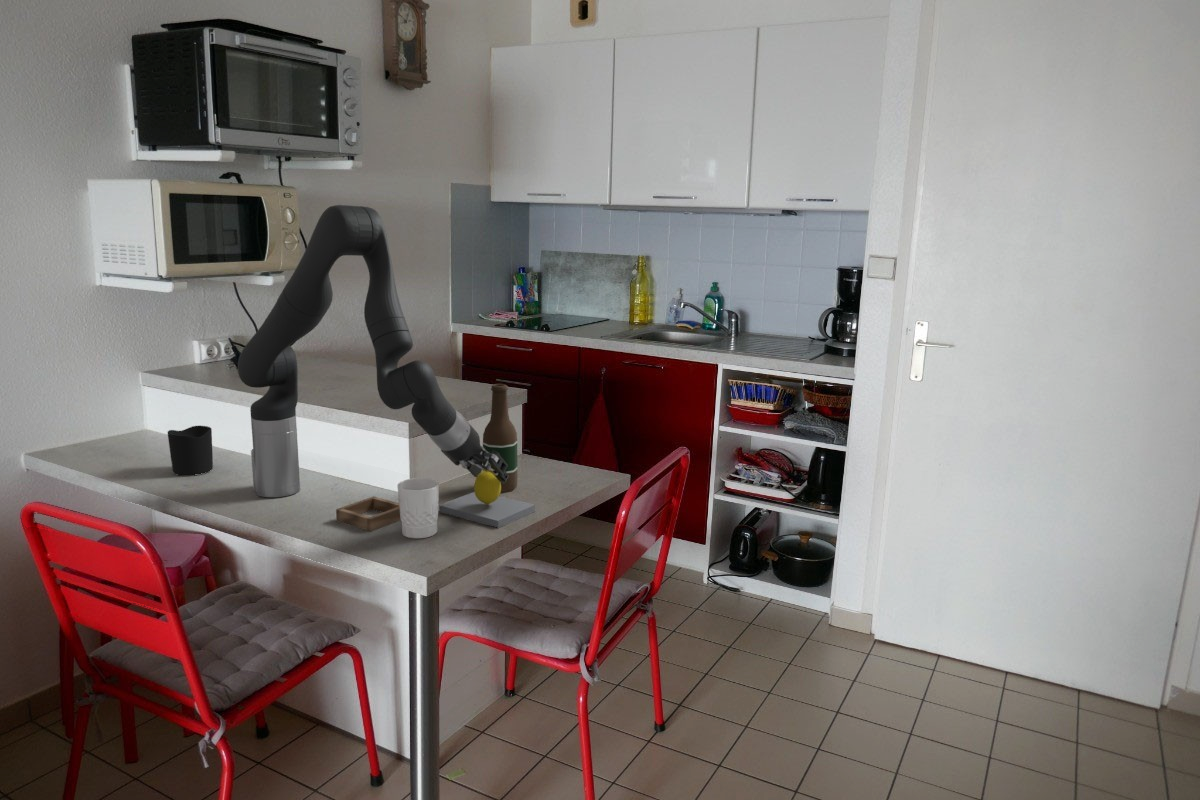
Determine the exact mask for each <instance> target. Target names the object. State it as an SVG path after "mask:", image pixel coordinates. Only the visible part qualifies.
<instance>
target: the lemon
mask: <svg viewBox="0 0 1200 800" xmlns="http://www.w3.org/2000/svg"><path fill="white" fill-rule="evenodd" d="M473 492H475V495H476V497H477V499H478V500H479V501H481V502H483V503H484V504H485V505H489V504H490V503H492V502H494V501H495V500H497V498H498V497H499V496H500V495H501V493H500V492H501V482H500V481H499V480H498V479H497V478H496V477H495V476H494V475H493V474H492V473H491V472H489V471H488V470H487V471H483V470H482V471H481V473H479V475H478V476H477V477H475V482H474V486H473Z"/></svg>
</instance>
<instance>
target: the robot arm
mask: <svg viewBox="0 0 1200 800" xmlns="http://www.w3.org/2000/svg"><path fill="white" fill-rule="evenodd" d="M342 256H343V257H344V256H354V257H355V256H358V257H360V256H362V258H363V259H364V261H365V264H366V267H367V269H368V274H369V280H368V281H369V283H368V284H369V285H368V289H367V293H366V297H365V302H364V307H363V309H364V312H363V314H364V321H365V326H366V328H367V331H368V334H369V338H370V341H371V343H372V346H373V349H374V355H375V366H376V387H377V392H378V395H379V398H380V399H381V402H383V405H386V407H388V408H389V409H391V410H400V409H403V408H405V407H408V406H410V405H412V404H413V405H412V407H411V416H412V418H413V420H414V421H415V422H416V423H417V425H419V427H420V428H422V429H423V431H424V432H425V433H426V434H427V435H428V437H429V438H430V440H432V442H433V443H434V444H435V445H436V446H437V447H438V449H440V452H441V453H442V454H443V455H444V456H446V457H447V458H448V459H449V460H450V461H451V462H452V463H453V464H454V465H455V466H457V467H458V466H460V465H461V467H462V468H463V469H467V471H468V472H469V473H470V474H471V475H472V476H473V477H475V478H476V477H477V476H478V475H479V473H481V472H482V471H487V470H488V471H489V472H491V473H492V474H493V475H494V476H495V477H496V478H497V479H498V480H499V481H500V482H501V483H505V482H506V480H507V479H508V477H509V475H508V474H507V472H506V471H505V470H506V468H507V466H508V464H507V463H506V462H505V461H504V459H503V458H502V457H501V455H500V454H499V453H498V452H497V451H495V450H493V452H492V454H491V453H489V452H487V451H486V450H485V449H484V447H483V445H481V441H480V435H479V433H478V432H477V430H476V429H474V427H473V426H472V425H471V424H470V423H469V421H467V419H466V417H464V415H462V414H461V413H460V412H459V411H458V410H457V409H455V407H454V406H453V405H452V404H451V402H449V401H448V399H446V397H445V395H444V393H443V392H442V390H441V388H440V387H441V386H440V385H439V383H438V381H437V378H436V375H435V374H436V373H435V372H434V370H433V368H432V366H430V364H428V363H427V362H425V361H422V360H418V359H417V360H413V361H409V362H407V363H406V364H404V365H401V366H399V367H398V364H399V362H400V361H401V359H402V358H403V357H404V356H405V355H407V354H408V353H409V352H410V351H411V350H412V348H413V347H414V343H413V341H414V340H413V338H412V335H411V332H410V330H409V327H408V324H407V321H406V317H405V316H404V312H403V310H402V307H401V303H400V300H399V299H400V298H399V296H398V295H399V294H398V292H397V286H396V282H395V281H396V280H395V274H394V267H393V262H392V261H393V260H392V258H391V252H390V246H389V241H388V236H387V231H386V228H385V224H384V221H383V219H382V217H381V215H380V214H379V212H378V211H377V210H375V209H374V208H372V207H369V206H360V205H348V204H346V205H345V204H343V205H342V204H337V205H336V204H335V205H330V206H329V207H328V208H326V209H324V211H323V212H322V214H321V215H320V216H319V219H318V221H317V223H316V225H315V228H314V230H313V232H312V234H311V237H310V239H309V241H308V244H307V246H306V248H305V251H304V253H303V255H302V257H301V259H300V260H299V262H298V264H297V266H296V268H295V269H294V271H293V273H292V275H291V277H290V279H288V281H287V283H286V284H285V285H284V288H283V289H282V290H281V293H280V294H279V295H278V298H277V300H276V301H275V304H274V306H273V307H272V309H271V310H270V312H269V313H268V315H267V317H266V318H265V320H264V321H263V322H262V324H261V326H260V327H259V329H258V330H257V331H256V333H254V335H253V336H252V337H251V338H250V340H249V341H248V342H247V343H246V345H245V346H244V347H243V348H242V350H241V353H240V355H239V357H238V361H237V374H238V377H239V379H240V380H241V382H242V383H243V384H244V385H246V386H247V387H250V388H268V390H267V392H265V394H264V395H262V396H261V397H260V398H258V399H257V400H256V401H254V402H253V403H252V404H251V405H250V422H251V423H250V424H251V425H250V427H251V437H252V439H251V440H252V449H251V450H250V455H251V469H252V484H253V491H255V493H256V495H258V496H259V497H263V498H283V497H287V496H291V495H294V494H296V493H299V492H300V490H301V481H300V463H299V461H300V460H299V446H298V427H297V412H296V408H297V405H298V398H299V397H298V396H299V395H298V394H299V393H298V392H299V390H298V387H299V386H298V379H299V377H298V373H299V372H298V369H299V368H298V359H297V356H296V352H295V350H294V349H293V347H292V346H291V345H293V344H294V343H296V342H297V341H299V340H301V339H302V338H303V337H305V336H306V335H308V334H309V333H310V332H311V331H313V330H314V329H315V328H316V327H318V325H319V324H320V323H321V321H322V320H323V318H324V316H325V315H326V313H327V312H328V311H329V309H330V307H331V305H332V302H333V296H334V295H333V288H332V287H333V286H332V283H331V279H330V272H331V269H332V267H333V266H334V264H335V263H336V262H337V260H338V259H339V258H341V257H342ZM486 459H488V461H487V463H486V464H485V466H484V465H483V463H484V461H485V460H486ZM491 466H492V467H493V468H494V470H493V469H492V468H491Z"/></svg>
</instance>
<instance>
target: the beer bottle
mask: <svg viewBox="0 0 1200 800" xmlns="http://www.w3.org/2000/svg"><path fill="white" fill-rule="evenodd" d="M490 390H491V391H492V392H491V393H492V394H491V414H490V420H489V422H488V423H487V424H486V426H485V428H484V431H483V435H482V447H484V449H485V450H486V451H487V452H489V453H491V454H492V452H493V450H495V451H497V452H498V453H499V454H500V455H501V457H502V458H503V459H504V461H505V462H506V463H507V464H508V466H507V468H506V470H505V471H506V472H507V474H508V475H509V477H508V479H507V480H506V482H505V483H501V492H500V494H503V493H509V491H510V492H513V491H515V489H516V488H517V486H518V433H517V431H516V428H515V425H514V424H513V423H512V421H511V419H510V416H509V406H508V405H509V404H508V390H509V387H508V385H507V384H504V383H494V384H492V385H491V388H490ZM487 461H488V459H486V460H485V461H484V463H483V464H482V465H484V466H485V464H486V463H487ZM491 468H492V469H493V470H494V468H493V467H492V466H491Z"/></svg>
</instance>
